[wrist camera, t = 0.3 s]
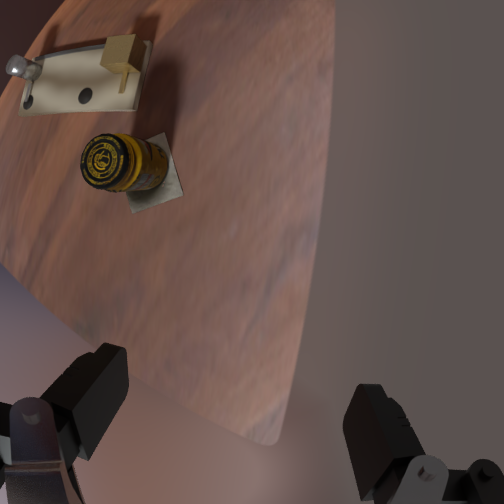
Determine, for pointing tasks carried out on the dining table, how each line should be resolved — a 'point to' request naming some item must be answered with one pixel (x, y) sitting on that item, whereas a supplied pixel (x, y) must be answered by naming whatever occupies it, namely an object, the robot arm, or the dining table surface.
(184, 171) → the dining table surface
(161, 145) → the condiment
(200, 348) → the dining table surface
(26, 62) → the silver cylinder with leg
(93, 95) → the board
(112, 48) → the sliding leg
